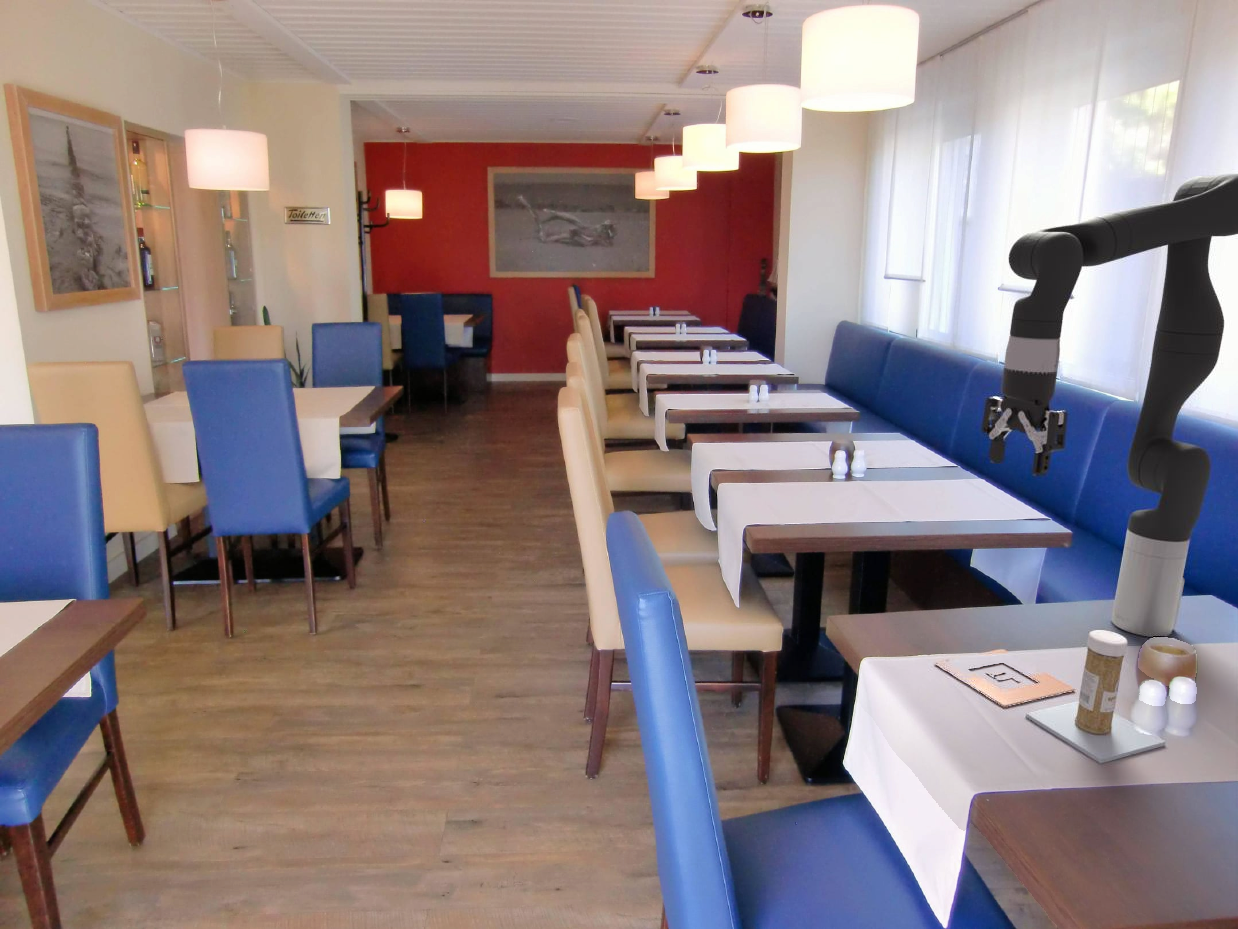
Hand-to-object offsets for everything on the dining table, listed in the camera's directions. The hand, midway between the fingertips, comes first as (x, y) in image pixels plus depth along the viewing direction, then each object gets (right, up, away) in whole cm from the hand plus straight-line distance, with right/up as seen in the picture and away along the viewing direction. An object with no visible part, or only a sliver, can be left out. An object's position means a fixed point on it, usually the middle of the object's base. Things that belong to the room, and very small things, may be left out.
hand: (1016, 468), depth 139 cm
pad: (+2, -36, -19) cm, 40 cm away
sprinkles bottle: (+2, -35, -19) cm, 40 cm away
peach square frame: (-4, -32, -5) cm, 32 cm away
